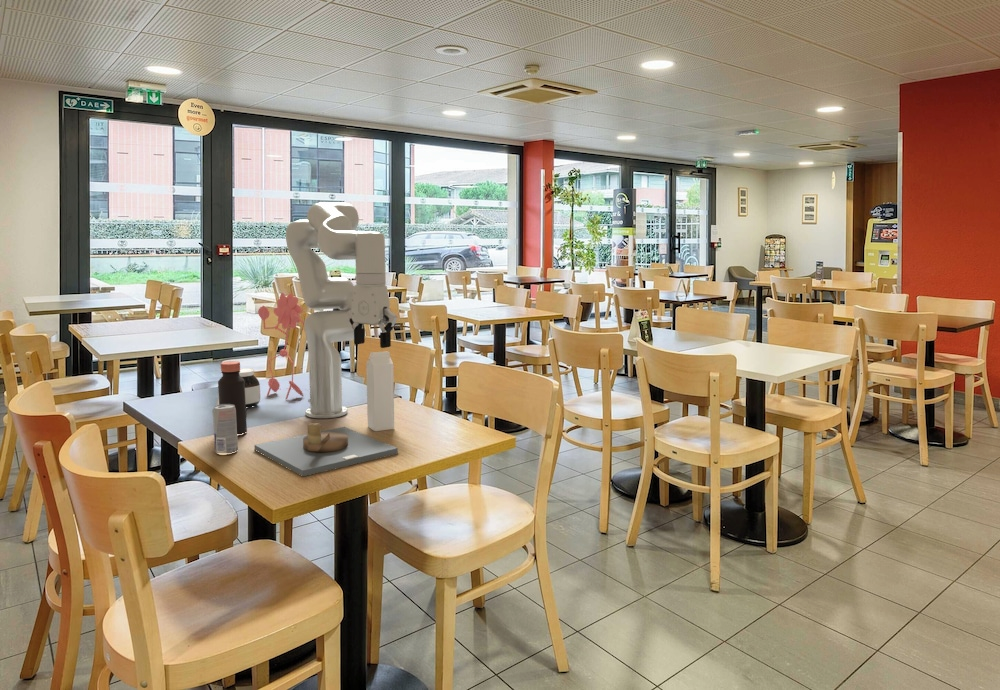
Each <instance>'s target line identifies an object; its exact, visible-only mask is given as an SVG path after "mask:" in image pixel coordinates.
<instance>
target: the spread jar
mask: <svg viewBox="0 0 1000 690" xmlns="http://www.w3.org/2000/svg"><path fill="white" fill-rule="evenodd" d="M239 375H240V376H241V377H242V378H243V379H244V381H245V402H246V407H252V406H255V407H256V406H258V405H259V403H260V402H261V383H260V381H259V379H258V378H257V377H256V376H255V369H253V368H240V372H239ZM216 405H219V394H218V396H217V401H216ZM252 408H253V407H252Z"/></svg>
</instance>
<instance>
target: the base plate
mask: <svg viewBox="0 0 1000 690" xmlns="http://www.w3.org/2000/svg"><path fill="white" fill-rule="evenodd" d="M321 432H338V433H343V434H346V435H347V436H348V446H347V447H345V448H344V449H341V450H338V451H332V452H311V451H307V450H305V449H304V448H303V438H304V437H306V436H308V433H307V434H301V435H297V436H291V437H287V438H283V439H277V440H271V441H267V442H263V443H257V444H254V451H255V450H257V451H259V452H260V453H262V454H264V455H266V456H267V457H269V458H271V459H273V460H274V461H273V460H272V461H273V462H275V461H276V462H275V463H277V462H278V463H280V464H282V465H283V466H282V465H281V466H282V467H284V466H285V467H284V468H286V467H287V468H286V469H288V468H289V469H291V470H292V471H291V470H290V471H291V472H293V471H294V473H295V472H296V473H295V474H297V473H298V474H297V475H299V474H300V475H302V476H305V477H308V476H307V475H309V476H311V475H310V474H313V475H316V474H315V473H317V474H319V473H318V472H321V473H324V472H323V471H325V472H327V471H326V470H329V471H332V470H331V469H333V470H336V469H335V468H337V469H341V468H345V467H349V465H350V466H353V464H354V465H358V464H361V462H362V463H365V461H366V462H369V460H370V461H373V459H374V460H377V459H376V458H378V459H381V458H380V457H382V458H385V457H384V456H386V457H389V455H390V456H394V455H398V454H399V453H398V451H399V449H398V447H396V446H394V445H391V444H389V443H386V442H384V441H381V440H379V439H377V438H374V437H371V436H369V435H366V434H364V433H361V432H359V431H356V430H354V429H351V428H349V427H346V426H342V427H340V426H339V427H336V428H331V429H326V430H321ZM257 451H256V452H257ZM260 453H259V454H260ZM262 454H261V455H262ZM264 455H263V456H264ZM266 456H265V457H266ZM267 457H266V458H267ZM269 458H268V459H269ZM271 459H270V460H271ZM278 463H277V464H278ZM357 463H358V464H357ZM280 464H279V465H280ZM340 467H341V468H340ZM289 469H288V470H289ZM300 475H299V476H300ZM302 476H301V477H302Z"/></svg>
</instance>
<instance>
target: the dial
mask: <svg viewBox="0 0 1000 690" xmlns="http://www.w3.org/2000/svg"><path fill="white" fill-rule="evenodd" d="M321 426H322V425H321V423H318V422H312V423H308V424H307V434H308V436H306V437H304V438H303V448H304V449H305V450H307V451H311V452H332V451H338V450H341V449H344V448H345V447H347V446H348V436H347V435H346V434H343V433H338V432H321V431H322V429H321V428H322V427H321Z"/></svg>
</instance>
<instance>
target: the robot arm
mask: <svg viewBox="0 0 1000 690" xmlns="http://www.w3.org/2000/svg"><path fill="white" fill-rule="evenodd" d="M306 214H307V215H306V217H307V219H298V220H294V221H292V222H290V223H289V224H288V225H287V227H286V229H285V230H286V232H285V242H286V247H287V249H288V250H287V251H288V252H289V255H290V258H291V259H292V261H293V263H294V265H295V267H296V270H297V274H298V278H299V279H298V281H299V285H300V289H301V293H302V298H303V301H304V304H305V306H306V307H307V308H308V309H311V310H320V311H315V312H312V313H310V314H308V315H307V316H306V317H305V319H304V321H303V322H304V324H303V325H304V326H303V328H304V333H305V337H306V338H305V340H306V342H307V351H308V352H307V353H308V354H307V355H308V374H309V390H310V391H309V397H310V398H308V399H307V402H308V403H309V405H310V407H309V408H307V409H305V412H304V414H305V416H307V417H309V418H312V419H333V418H334V419H335V418H338V417H342V416H343V417H344V416H345V415H347V414H348V411H349V410H348V408H347V407H346V406H343V386H342V382H343V381H342V359H341V358H342V357H341V354H340V352H339V351H338V349H336V347H335V345H334V344H333V343H338V342H350V341H353V344H354V345H361V344H362V345H363V344H364V343H365V341H366V339H365V328H364V325H368V326H370V325H371V326H376V325H377V326H378V327H379V329H380V331H381V332H380V333H379V346H380V348H381V349H385V348H386V349H387V348H390V347H392V342H391V339H392V335H391V333H392V332H393V329H394V328H395V326H396V323H397V319H398V315H397V314H395V313H394V312H393V311H391V308H390V305H391V304H390V297H389V291H388V286H387V283H386V279H387V277H386V242H385V235H384V233H382V232H379V231H369V230H367V231H366V230H357V228H358V225H359V221H360V218H359V213H358V210H357V209H356V207H355V206H354V205H353V204H351V203H347V202H328V201H327V202H325V201H323V202H317V203H314V204H312V206H310V207H309V209H308V211H307V213H306ZM312 249H320V251H321V252H322V253H323V254H324V255H325V256H326V257H328V258H330V259H331V260H337V261H340V260H341V261H342V260H344V261H345V260H355V284H353V282H352V281H351V280H350V278H349V279H348V278H346V277H330V276H329V275H328V271H327V266H326V264H325V262H324V261H323V259H322V258H321V257H320V256H319V254H317V253H316V252H315V251H314V250H312ZM329 309H338V310H329ZM321 310H322V311H321Z"/></svg>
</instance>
